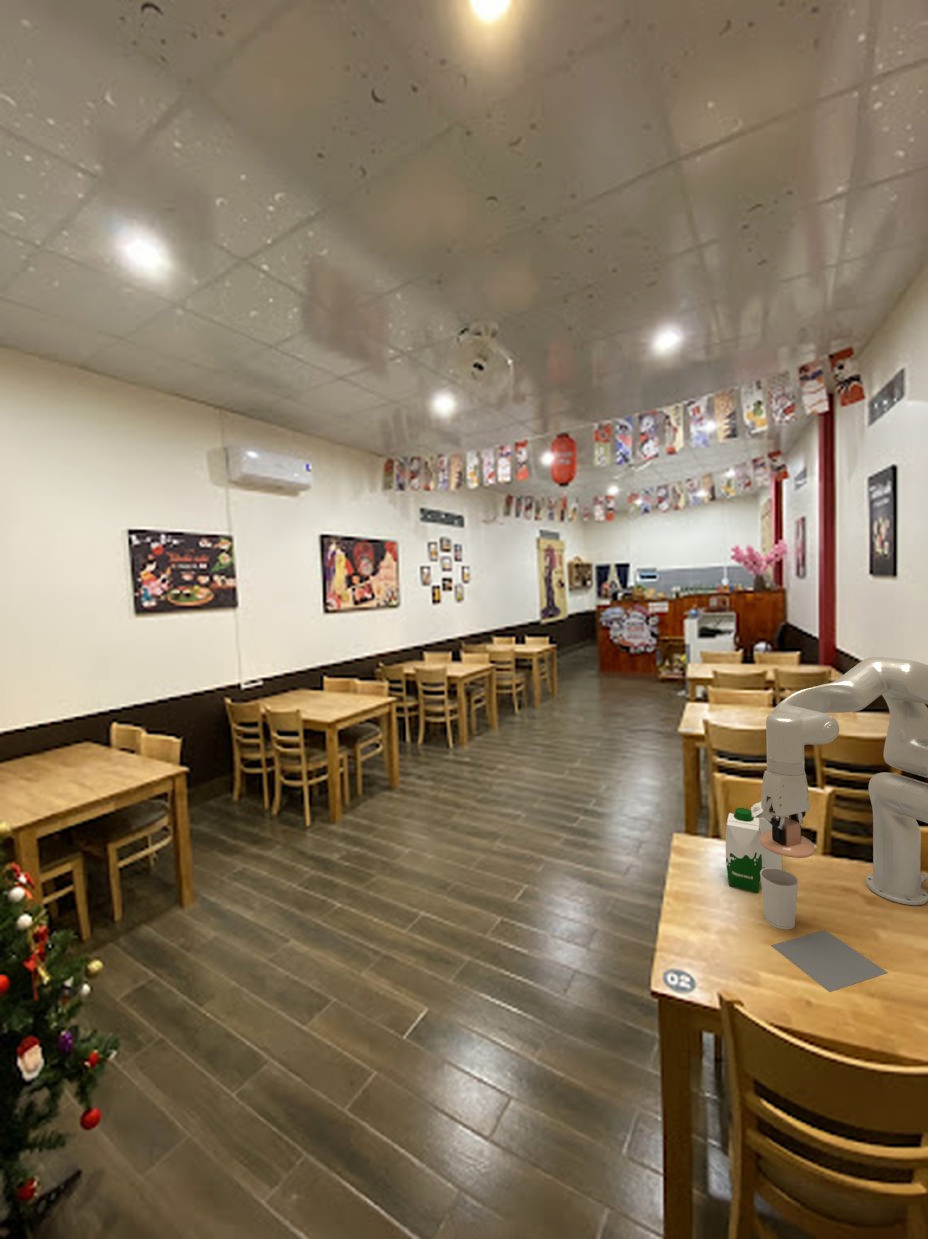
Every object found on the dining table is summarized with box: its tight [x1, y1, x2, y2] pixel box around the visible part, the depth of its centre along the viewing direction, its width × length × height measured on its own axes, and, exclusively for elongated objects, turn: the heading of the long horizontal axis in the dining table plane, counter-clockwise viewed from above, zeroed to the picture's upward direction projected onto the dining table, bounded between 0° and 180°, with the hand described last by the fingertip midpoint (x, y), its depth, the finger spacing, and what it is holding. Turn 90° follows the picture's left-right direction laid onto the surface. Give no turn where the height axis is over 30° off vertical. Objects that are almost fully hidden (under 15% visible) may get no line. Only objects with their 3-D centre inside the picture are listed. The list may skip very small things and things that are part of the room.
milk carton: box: [750, 801, 783, 870], centre depth 149 cm, size 7×7×19 cm
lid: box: [760, 816, 816, 859], centre depth 120 cm, size 11×11×6 cm
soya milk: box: [724, 807, 763, 894], centre depth 139 cm, size 9×9×20 cm
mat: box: [770, 929, 889, 993], centre depth 110 cm, size 16×14×1 cm
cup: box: [760, 868, 799, 930], centre depth 123 cm, size 8×8×12 cm
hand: (786, 839), depth 120 cm, fingers closed on lid, 4 cm apart
